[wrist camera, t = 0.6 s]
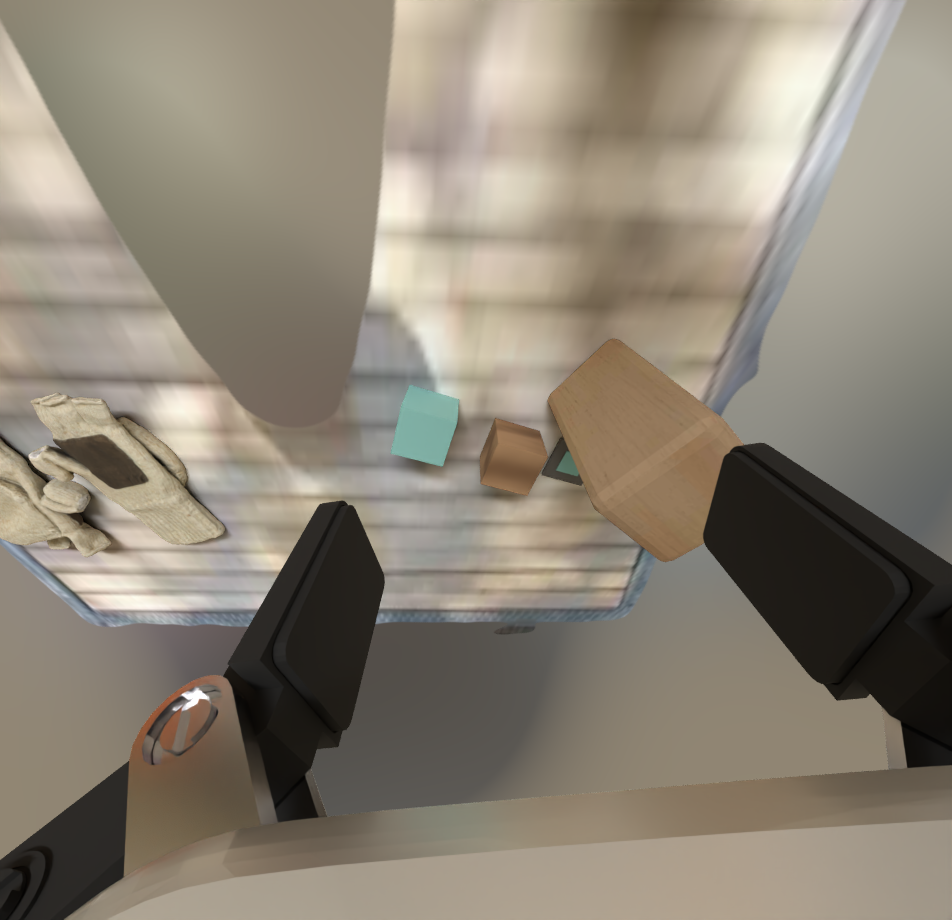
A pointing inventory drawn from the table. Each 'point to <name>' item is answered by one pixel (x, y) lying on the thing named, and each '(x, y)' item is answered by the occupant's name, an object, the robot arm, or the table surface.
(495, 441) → the walnut cube
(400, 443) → the teal cube
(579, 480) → the card
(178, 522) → the pair of gloves
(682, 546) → the wooden block
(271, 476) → the table surface
